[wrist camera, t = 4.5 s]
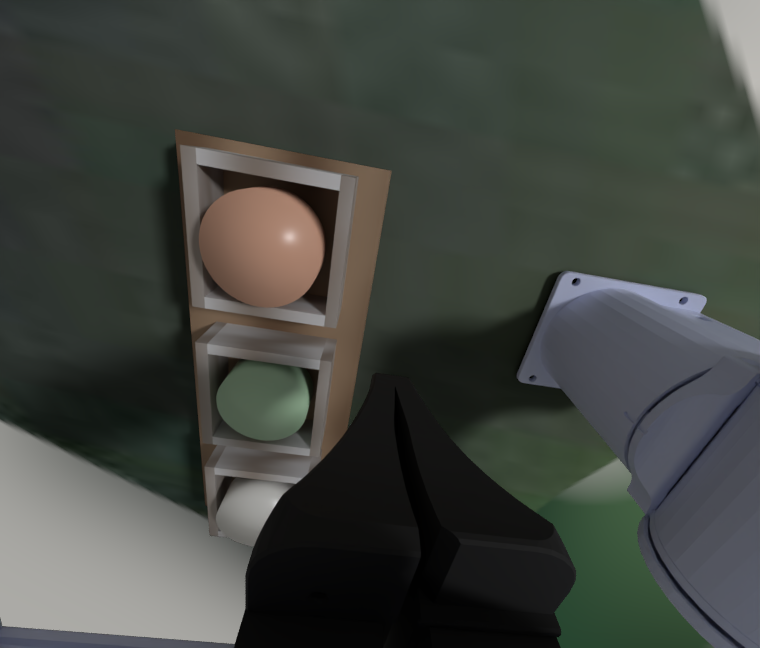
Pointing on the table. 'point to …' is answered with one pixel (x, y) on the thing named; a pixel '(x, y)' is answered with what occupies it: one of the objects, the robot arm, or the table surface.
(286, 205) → the terracotta button
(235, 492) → the grey button
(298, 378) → the sage button
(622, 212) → the table surface
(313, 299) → the button board
